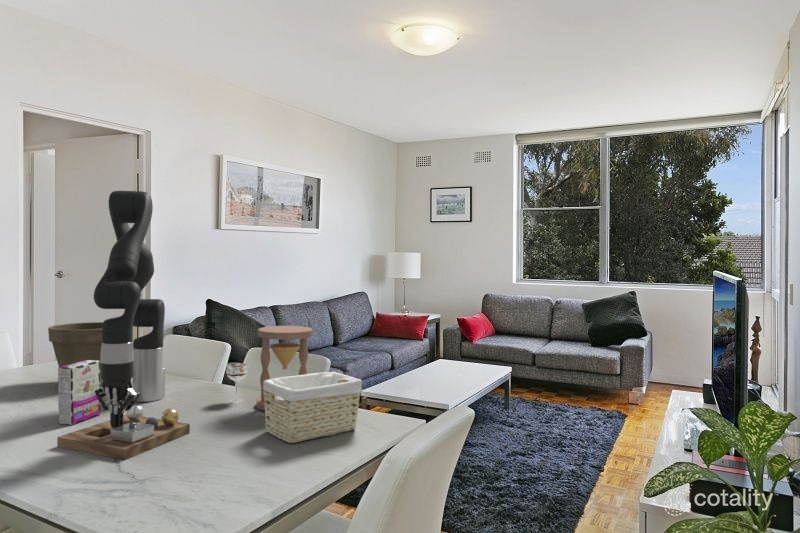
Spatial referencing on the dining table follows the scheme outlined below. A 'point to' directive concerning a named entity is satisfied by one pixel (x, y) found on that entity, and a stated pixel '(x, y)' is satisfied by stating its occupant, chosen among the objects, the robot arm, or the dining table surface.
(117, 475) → the dining table surface
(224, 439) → the dining table surface
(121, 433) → the steel cover
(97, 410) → the candy bar box
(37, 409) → the dining table surface
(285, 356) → the hourglass
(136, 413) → the steel ball
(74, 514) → the dining table surface
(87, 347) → the plant pot
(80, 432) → the walnut board
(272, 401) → the storage basket
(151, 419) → the black rubber ball
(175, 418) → the brass ball
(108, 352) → the robot arm
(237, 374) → the wineglass
